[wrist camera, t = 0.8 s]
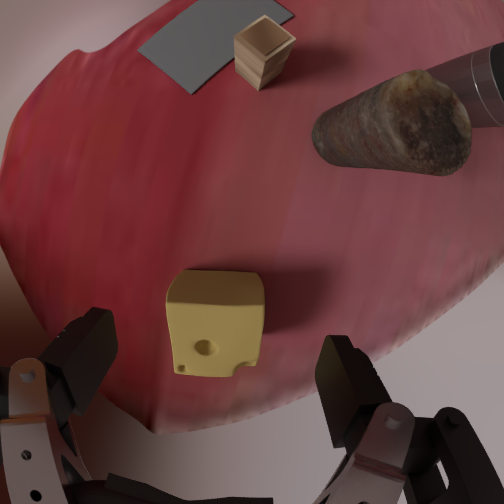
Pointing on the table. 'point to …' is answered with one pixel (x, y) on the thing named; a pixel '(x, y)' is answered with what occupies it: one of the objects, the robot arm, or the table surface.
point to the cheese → (215, 321)
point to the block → (261, 51)
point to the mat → (205, 38)
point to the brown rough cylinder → (397, 128)
